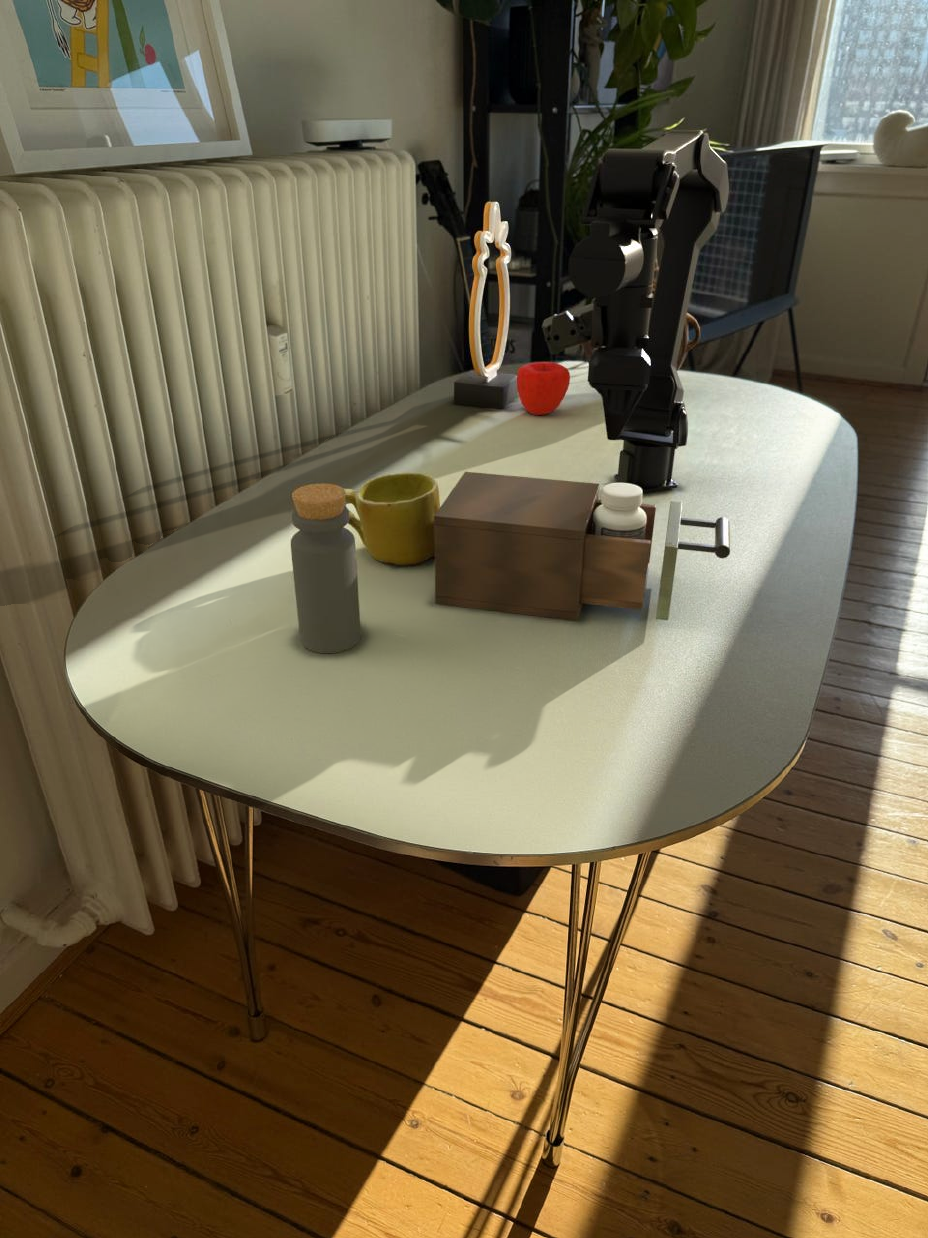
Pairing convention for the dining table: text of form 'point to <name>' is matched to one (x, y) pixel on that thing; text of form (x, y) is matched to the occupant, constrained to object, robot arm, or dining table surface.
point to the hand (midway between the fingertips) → (612, 426)
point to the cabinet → (513, 544)
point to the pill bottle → (620, 512)
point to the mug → (396, 517)
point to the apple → (542, 386)
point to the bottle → (324, 570)
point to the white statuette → (482, 381)
